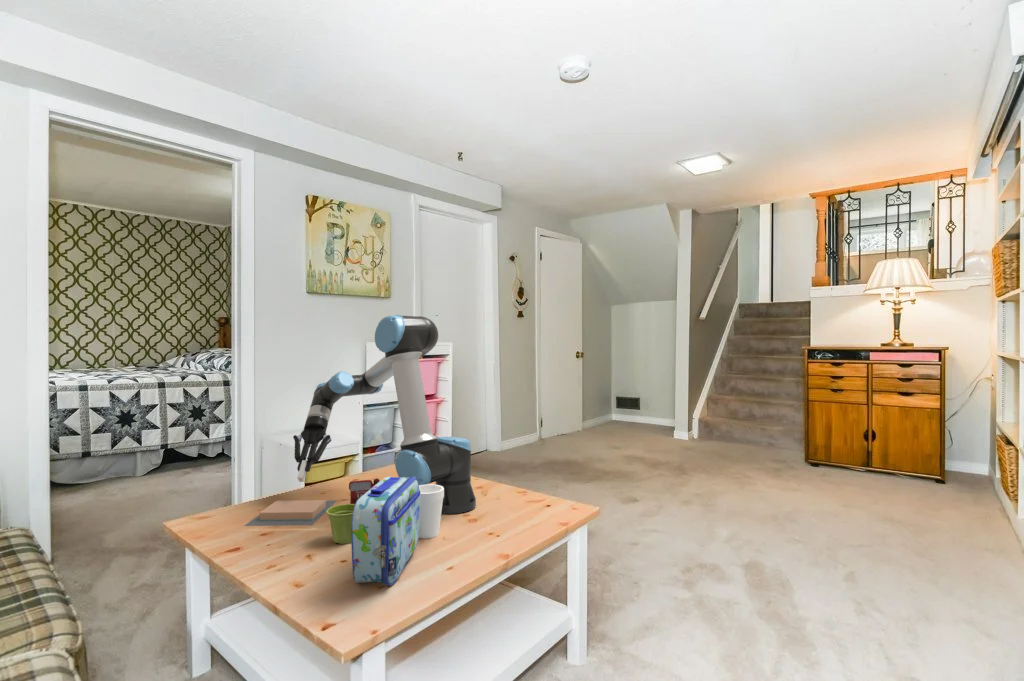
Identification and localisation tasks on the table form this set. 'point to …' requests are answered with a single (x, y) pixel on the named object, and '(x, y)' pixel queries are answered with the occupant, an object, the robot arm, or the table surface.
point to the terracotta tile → (293, 510)
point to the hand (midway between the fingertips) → (300, 479)
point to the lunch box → (385, 530)
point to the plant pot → (341, 522)
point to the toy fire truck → (360, 489)
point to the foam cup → (430, 510)
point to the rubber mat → (257, 521)
